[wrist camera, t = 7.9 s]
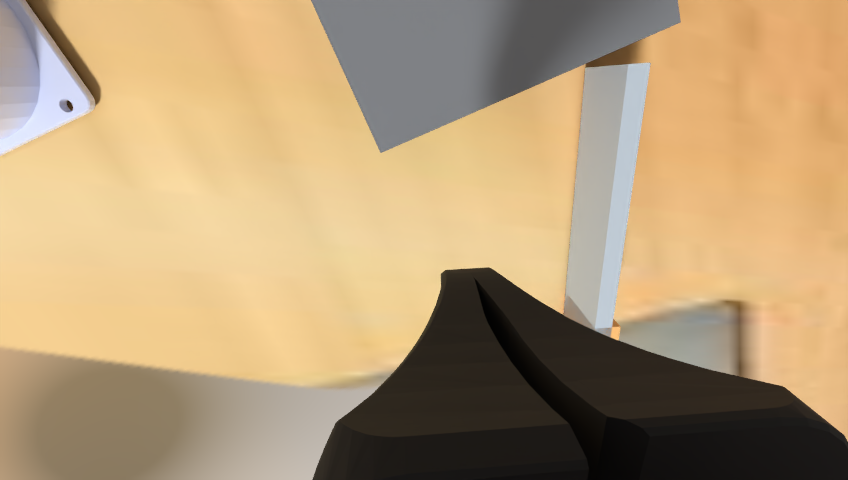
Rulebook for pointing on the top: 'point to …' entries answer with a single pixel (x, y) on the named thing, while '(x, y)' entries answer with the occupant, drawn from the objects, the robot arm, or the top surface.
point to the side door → (603, 191)
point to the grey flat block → (470, 51)
